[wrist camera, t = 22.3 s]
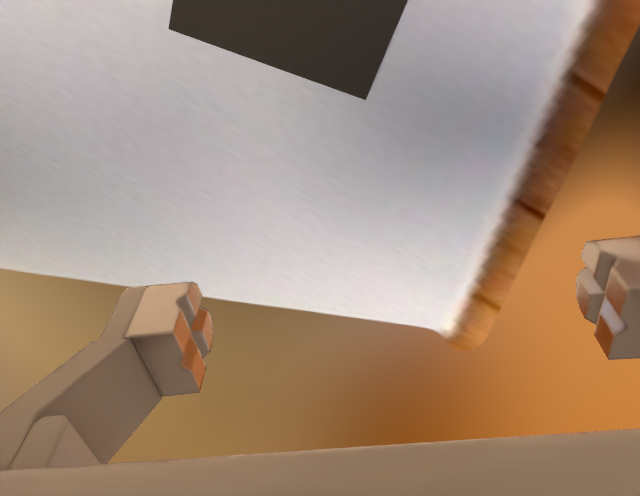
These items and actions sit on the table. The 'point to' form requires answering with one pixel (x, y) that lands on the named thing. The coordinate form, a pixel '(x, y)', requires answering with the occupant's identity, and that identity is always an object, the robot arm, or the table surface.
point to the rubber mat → (299, 35)
